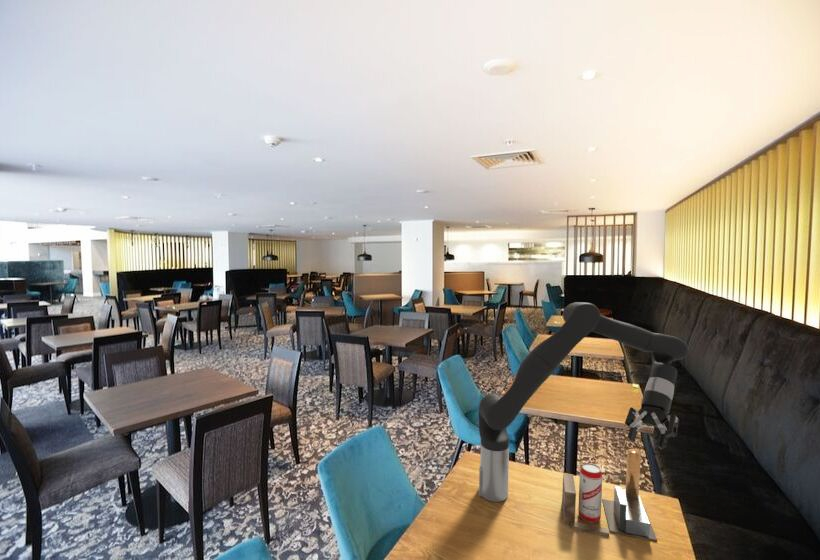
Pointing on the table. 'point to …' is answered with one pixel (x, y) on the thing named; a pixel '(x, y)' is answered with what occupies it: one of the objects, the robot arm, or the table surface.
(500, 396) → the robot arm
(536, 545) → the table surface
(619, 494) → the cylinder
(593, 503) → the beer can
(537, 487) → the table surface
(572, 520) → the vise frame
